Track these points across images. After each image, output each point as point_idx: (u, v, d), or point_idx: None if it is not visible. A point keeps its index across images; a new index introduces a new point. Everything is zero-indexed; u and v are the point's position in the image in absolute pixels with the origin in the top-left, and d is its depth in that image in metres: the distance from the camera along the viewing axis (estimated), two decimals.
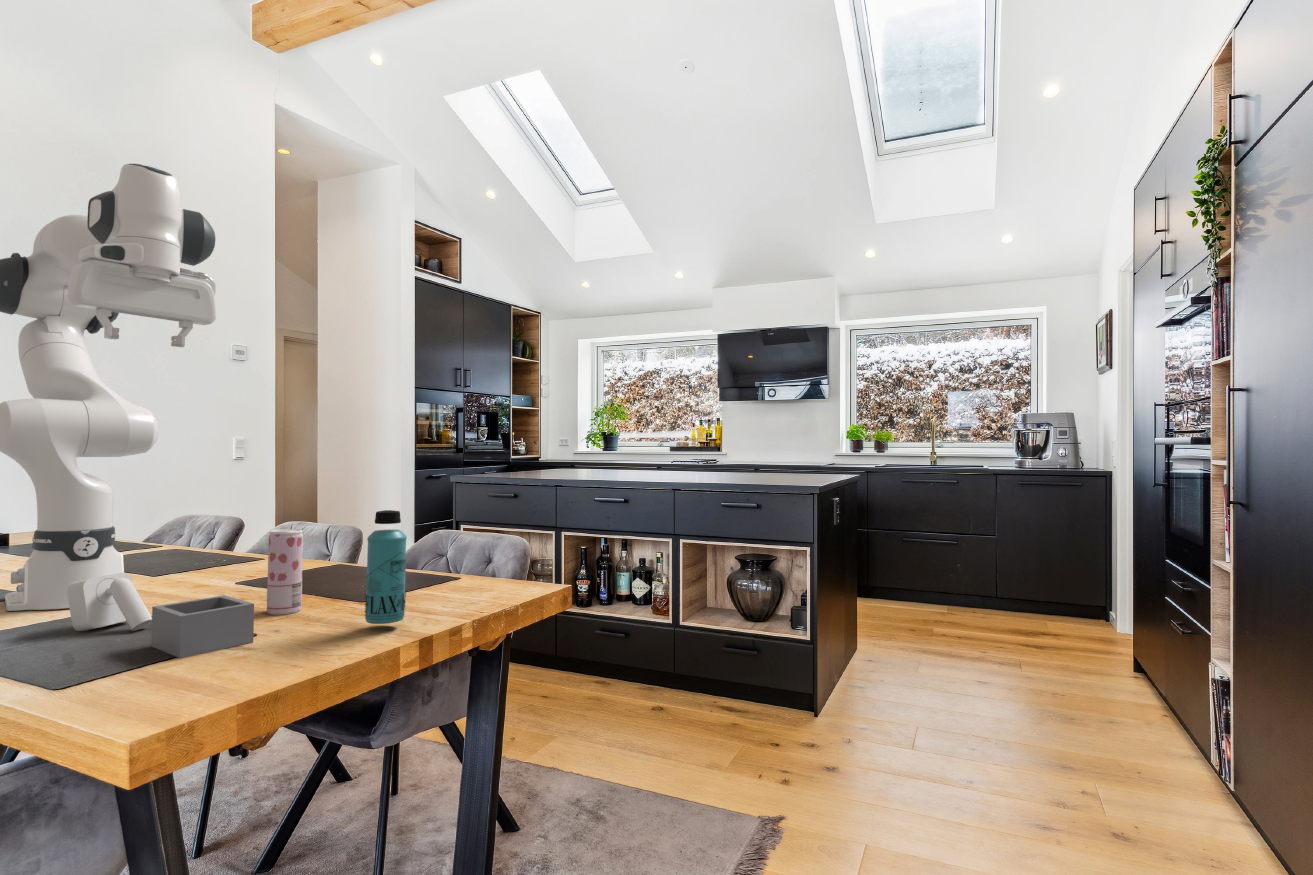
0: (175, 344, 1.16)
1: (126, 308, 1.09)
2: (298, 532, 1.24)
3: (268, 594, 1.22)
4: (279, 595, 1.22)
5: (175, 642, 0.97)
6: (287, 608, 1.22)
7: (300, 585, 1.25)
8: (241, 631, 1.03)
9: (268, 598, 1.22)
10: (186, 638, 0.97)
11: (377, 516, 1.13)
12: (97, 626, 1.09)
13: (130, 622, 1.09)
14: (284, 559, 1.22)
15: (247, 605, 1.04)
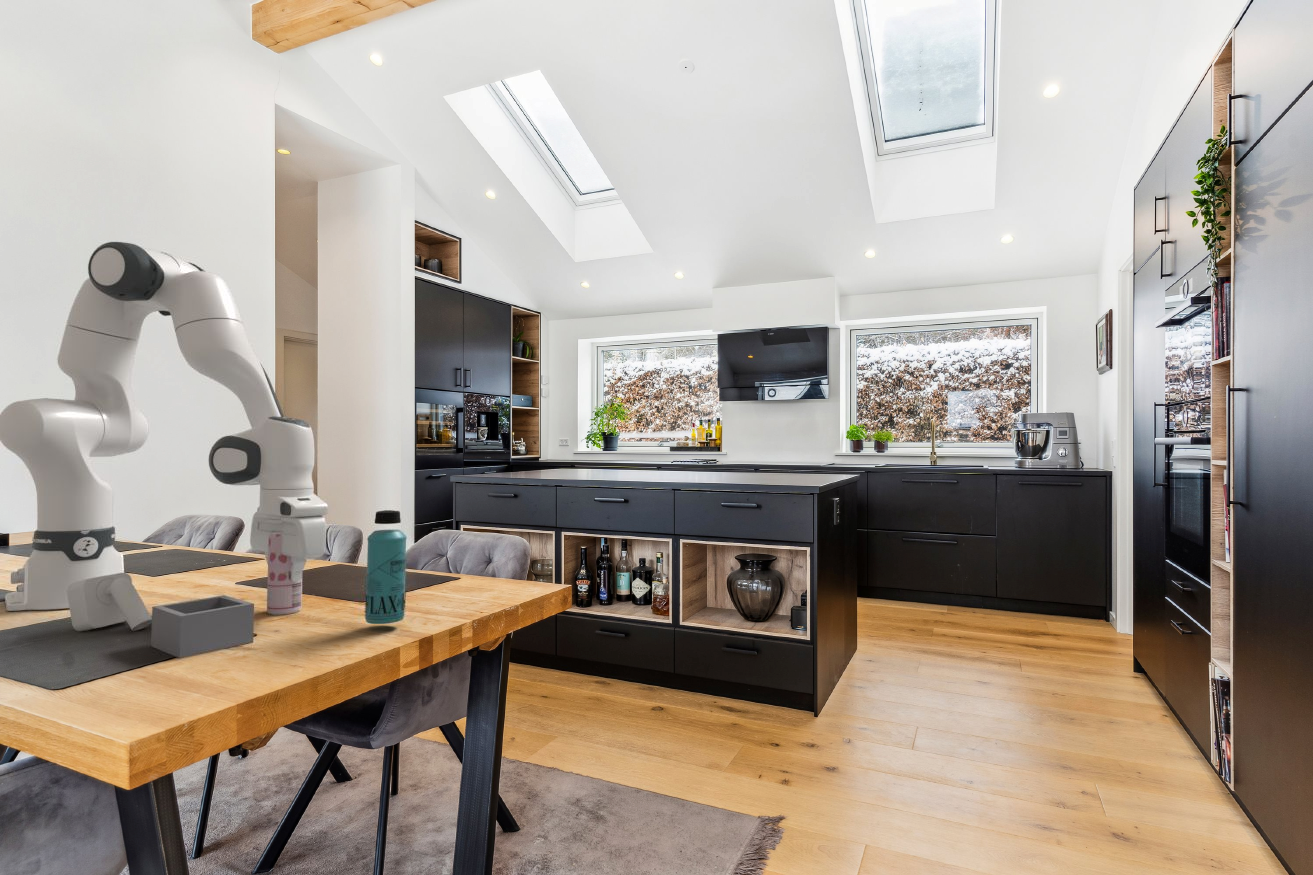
0: None
1: None
2: None
3: (268, 594, 1.22)
4: (279, 595, 1.21)
5: (175, 642, 0.97)
6: (287, 607, 1.22)
7: (300, 585, 1.25)
8: (241, 631, 1.03)
9: (268, 598, 1.22)
10: (186, 638, 0.97)
11: (377, 516, 1.13)
12: (97, 626, 1.09)
13: (130, 622, 1.09)
14: (284, 559, 1.22)
15: (247, 605, 1.04)
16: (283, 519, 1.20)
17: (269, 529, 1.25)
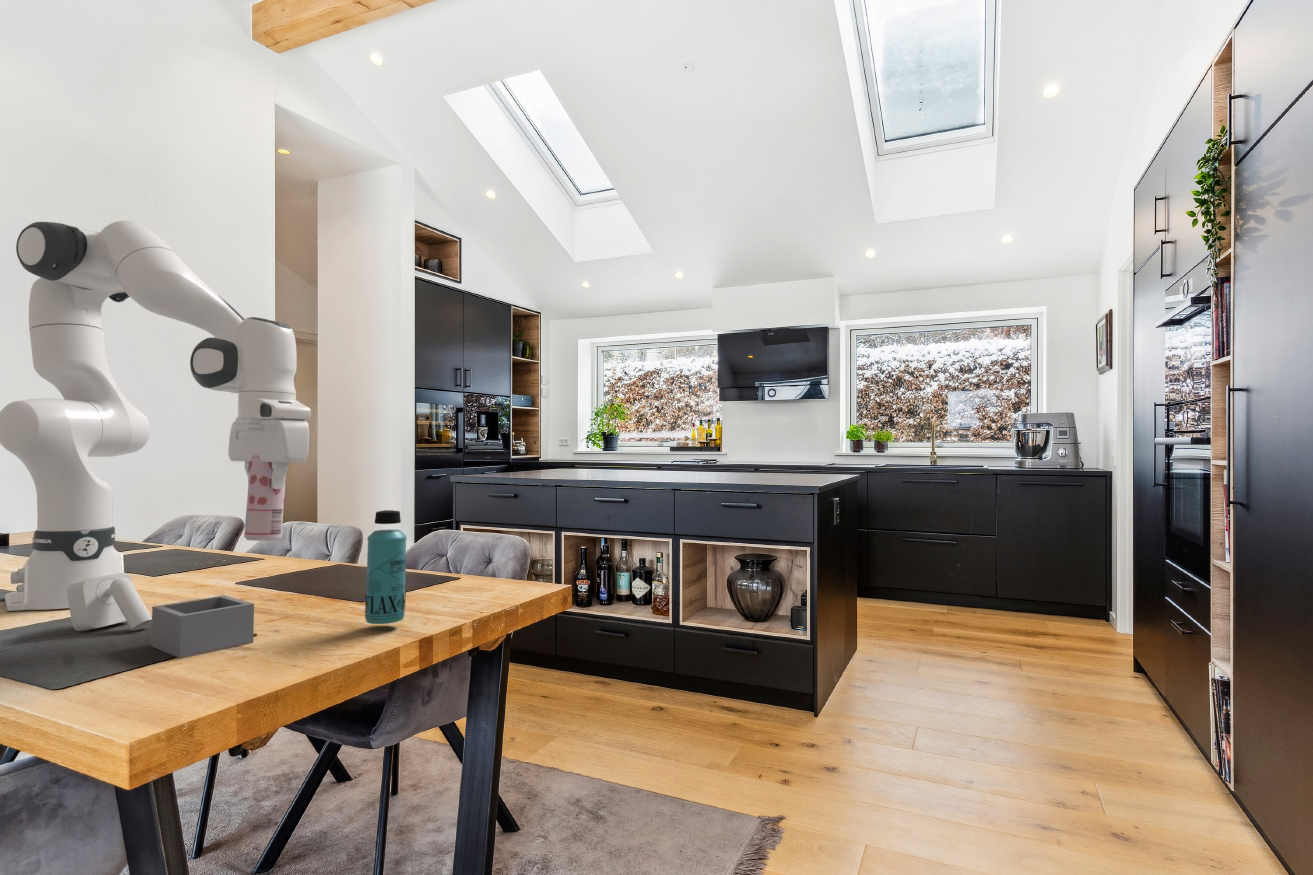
0: None
1: None
2: None
3: (246, 519, 1.16)
4: (258, 519, 1.15)
5: (175, 642, 0.97)
6: (265, 534, 1.15)
7: (281, 512, 1.18)
8: (241, 631, 1.03)
9: (246, 523, 1.16)
10: (186, 638, 0.97)
11: (377, 516, 1.13)
12: (97, 626, 1.09)
13: (130, 622, 1.09)
14: (265, 482, 1.16)
15: (247, 605, 1.04)
16: (263, 422, 1.13)
17: (248, 437, 1.18)
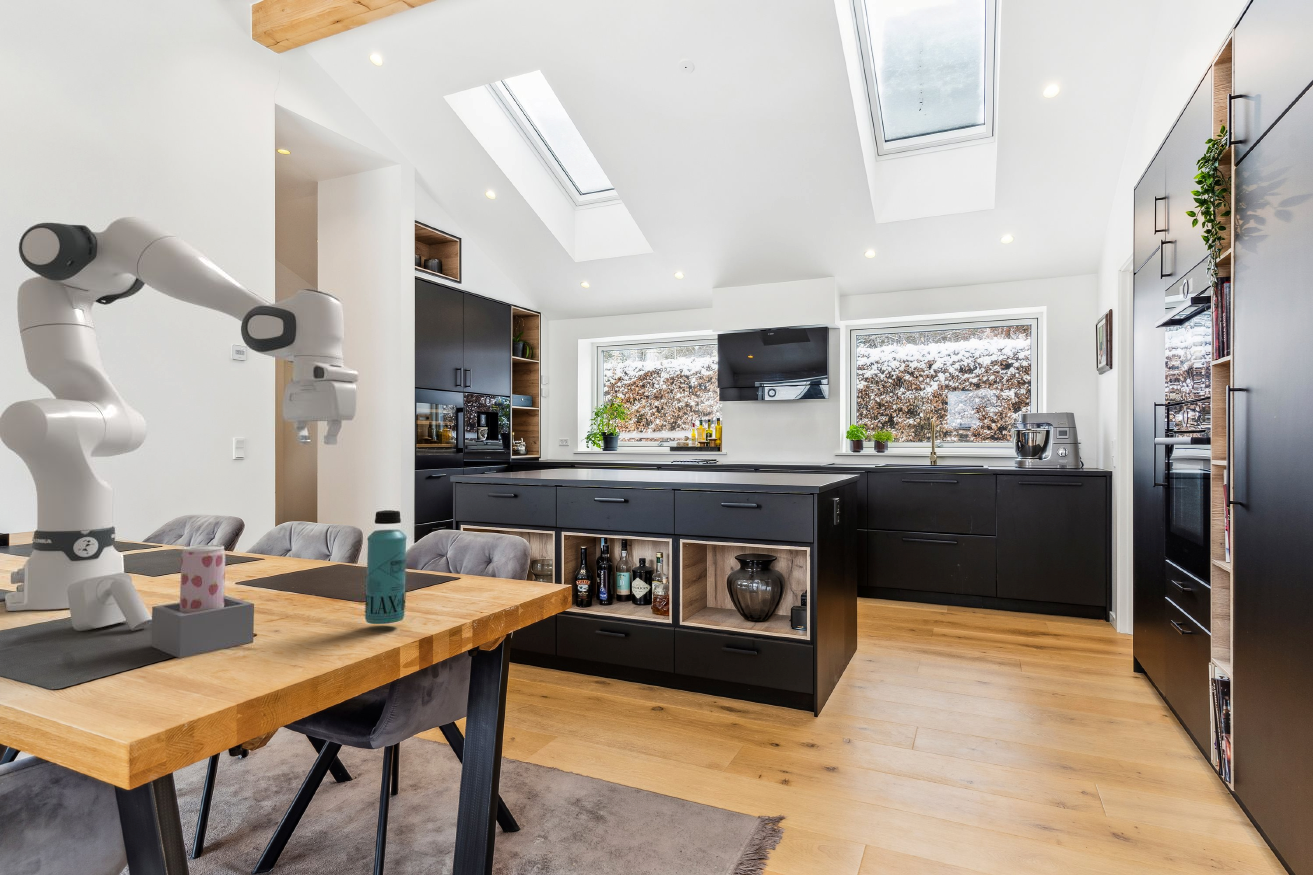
0: (309, 443, 1.33)
1: None
2: (217, 549, 1.03)
3: None
4: None
5: (175, 642, 0.97)
6: None
7: None
8: (241, 631, 1.03)
9: None
10: (186, 638, 0.97)
11: (377, 516, 1.13)
12: (97, 626, 1.09)
13: (130, 622, 1.09)
14: (199, 582, 1.00)
15: (247, 605, 1.04)
16: (316, 383, 1.26)
17: (301, 398, 1.31)
